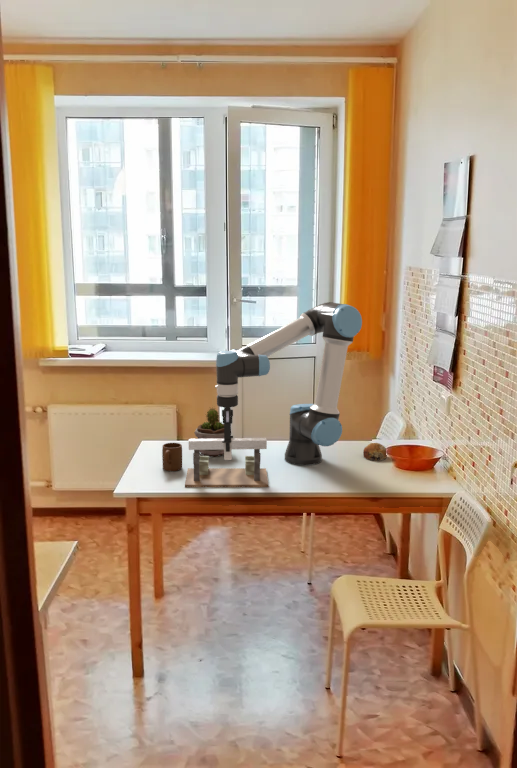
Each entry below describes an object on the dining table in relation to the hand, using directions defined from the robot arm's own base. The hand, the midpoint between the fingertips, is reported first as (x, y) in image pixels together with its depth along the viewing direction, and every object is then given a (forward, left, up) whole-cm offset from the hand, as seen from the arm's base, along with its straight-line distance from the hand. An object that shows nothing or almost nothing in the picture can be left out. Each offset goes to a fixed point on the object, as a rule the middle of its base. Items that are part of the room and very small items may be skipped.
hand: (227, 457), depth 240 cm
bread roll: (-61, -30, -10) cm, 69 cm away
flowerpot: (+6, -35, -10) cm, 37 cm away
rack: (0, -4, -9) cm, 10 cm away
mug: (+22, -13, -10) cm, 27 cm away
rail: (0, 0, +4) cm, 4 cm away
